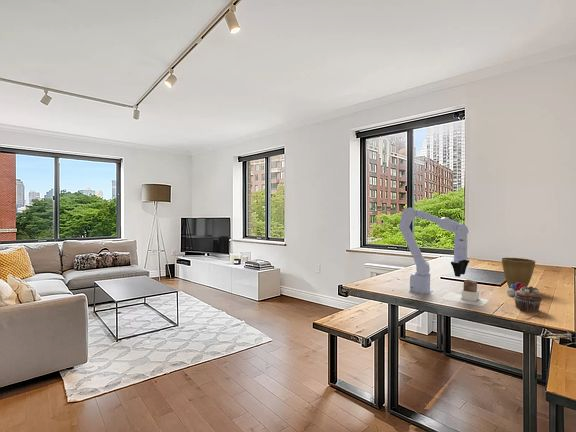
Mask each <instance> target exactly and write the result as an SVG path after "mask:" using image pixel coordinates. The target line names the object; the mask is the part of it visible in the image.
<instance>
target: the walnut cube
mask: <svg viewBox="0 0 576 432" xmlns="http://www.w3.org/2000/svg"><path fill="white" fill-rule="evenodd" d="M463 289H464V291H469V292H475V291H477V290H478V281H477V280H471V279H465V280H463Z"/></svg>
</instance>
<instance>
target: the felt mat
mask: <svg viewBox="0 0 576 432" xmlns="http://www.w3.org/2000/svg"><path fill="white" fill-rule="evenodd" d="M439 299H440V300H446V301H449V302H457V303H462V304H467V305H472V306H478V307H484V306H485V304H487V303H488V302H489V301H490V299H487V298H480V297H479V299H478V300H477V301H476V302H475V301H469V300H464V299H461V294H460V293H453V292H447V293H445V294H444V295H443V296H441V297H440V298H439Z"/></svg>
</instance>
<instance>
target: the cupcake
mask: <svg viewBox="0 0 576 432" xmlns="http://www.w3.org/2000/svg"><path fill="white" fill-rule="evenodd" d="M516 294H517V295H515V296H513V300H514V304H515V308H516V309H518V310H519V311H521V310H522V311H523V312H527V313H538V312H539V310H540V308H541V307H540V306H541V303H542V301H543V300H542V297H543V295H542V294H541V293H540V291H539V289H538V288H537V287H534V286H527V287H526V286H524V287H523V288H521V289H520V290H519V291H517V292H516Z"/></svg>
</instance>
